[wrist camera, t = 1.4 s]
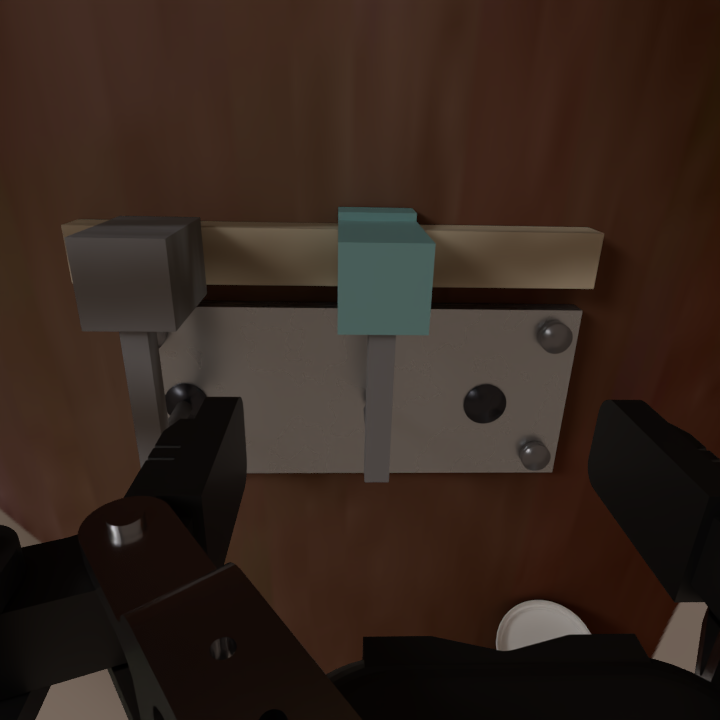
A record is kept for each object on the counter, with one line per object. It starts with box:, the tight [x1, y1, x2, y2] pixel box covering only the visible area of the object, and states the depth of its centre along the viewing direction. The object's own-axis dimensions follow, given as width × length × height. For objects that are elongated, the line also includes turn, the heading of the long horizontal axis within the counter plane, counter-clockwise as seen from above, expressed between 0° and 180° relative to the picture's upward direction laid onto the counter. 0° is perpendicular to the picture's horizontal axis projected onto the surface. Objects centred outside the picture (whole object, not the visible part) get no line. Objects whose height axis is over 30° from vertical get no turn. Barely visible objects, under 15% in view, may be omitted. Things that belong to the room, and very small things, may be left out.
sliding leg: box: [338, 207, 436, 482], centre depth 28 cm, size 12×4×8 cm, turn 179°
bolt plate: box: [157, 301, 582, 473], centre depth 33 cm, size 11×26×2 cm, turn 89°
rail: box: [61, 216, 604, 468], centre depth 28 cm, size 12×28×8 cm, turn 89°
